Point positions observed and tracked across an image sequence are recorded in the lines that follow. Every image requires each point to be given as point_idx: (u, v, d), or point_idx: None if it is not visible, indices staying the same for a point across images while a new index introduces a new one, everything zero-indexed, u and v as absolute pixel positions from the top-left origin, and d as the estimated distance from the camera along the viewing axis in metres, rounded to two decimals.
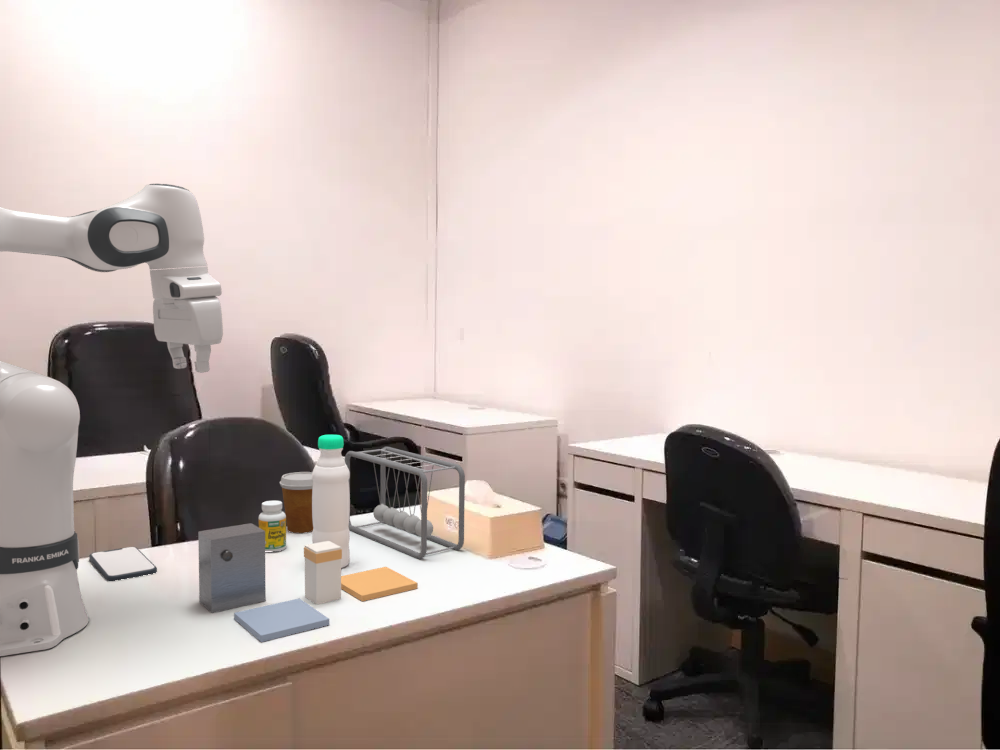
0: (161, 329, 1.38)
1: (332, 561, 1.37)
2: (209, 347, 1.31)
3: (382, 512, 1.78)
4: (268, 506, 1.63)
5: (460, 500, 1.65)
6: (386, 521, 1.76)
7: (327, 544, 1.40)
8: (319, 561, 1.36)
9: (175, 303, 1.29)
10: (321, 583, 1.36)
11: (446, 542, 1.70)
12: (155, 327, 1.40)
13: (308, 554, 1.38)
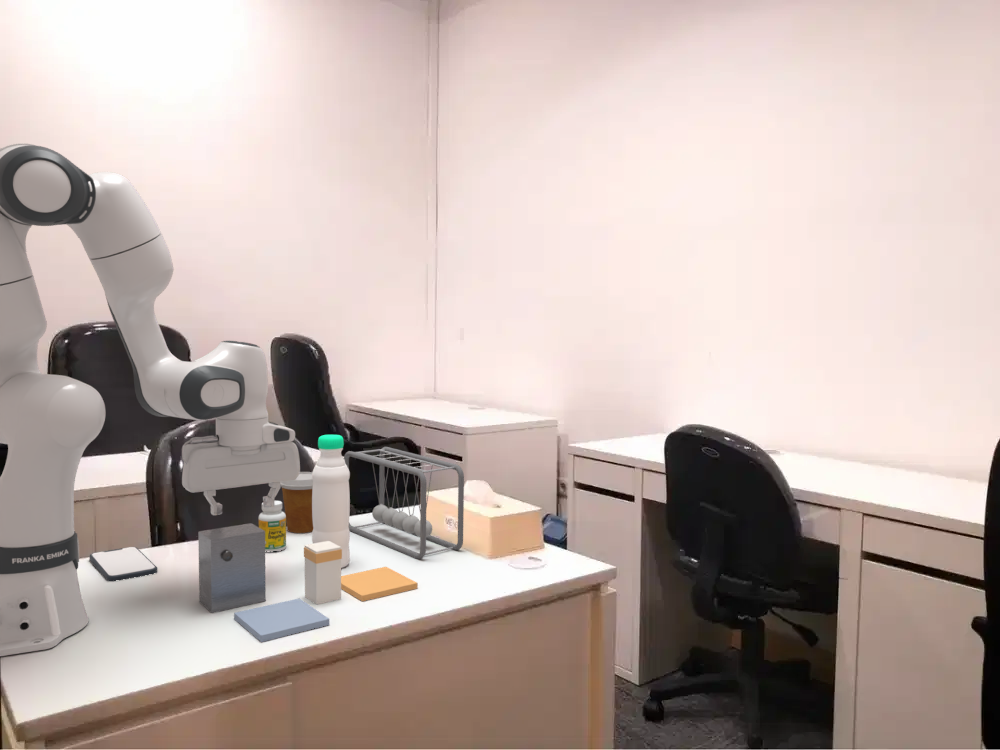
0: (210, 479, 1.39)
1: (332, 561, 1.37)
2: None
3: (381, 512, 1.78)
4: None
5: (459, 500, 1.65)
6: (385, 521, 1.75)
7: (327, 544, 1.40)
8: (319, 562, 1.36)
9: (272, 447, 1.44)
10: (321, 583, 1.36)
11: (445, 542, 1.70)
12: (196, 478, 1.38)
13: (308, 554, 1.38)
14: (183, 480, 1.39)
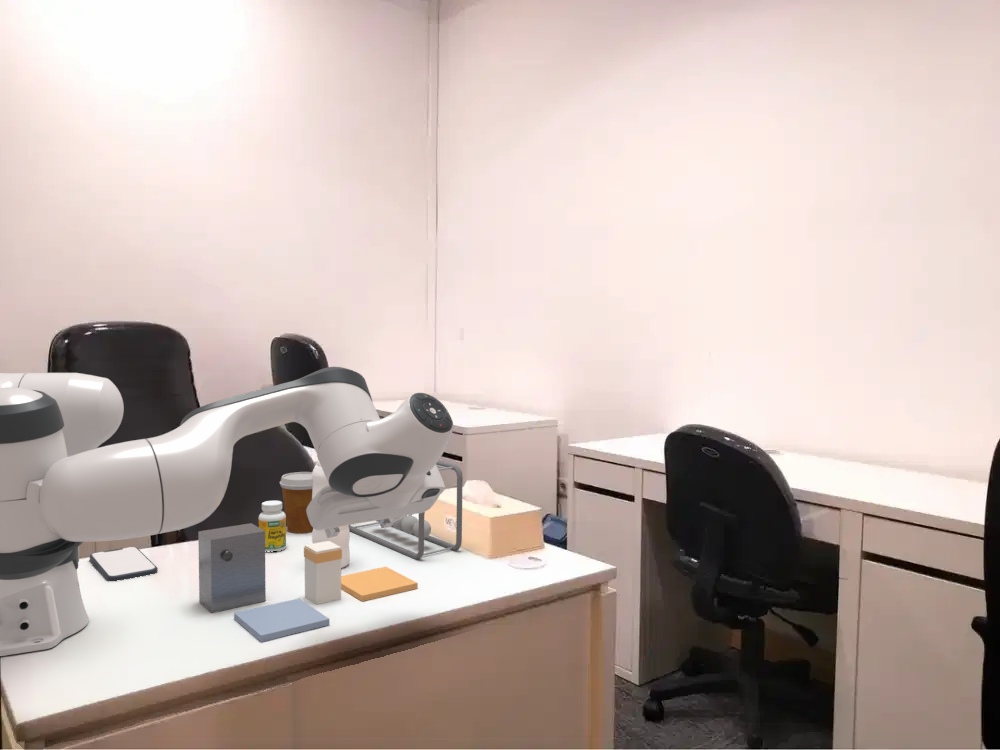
0: (338, 521, 1.19)
1: (332, 561, 1.37)
2: None
3: None
4: (268, 506, 1.63)
5: (458, 500, 1.65)
6: None
7: (327, 544, 1.40)
8: (319, 561, 1.36)
9: None
10: (321, 583, 1.36)
11: (444, 543, 1.69)
12: (324, 522, 1.18)
13: (308, 554, 1.38)
14: (309, 511, 1.18)
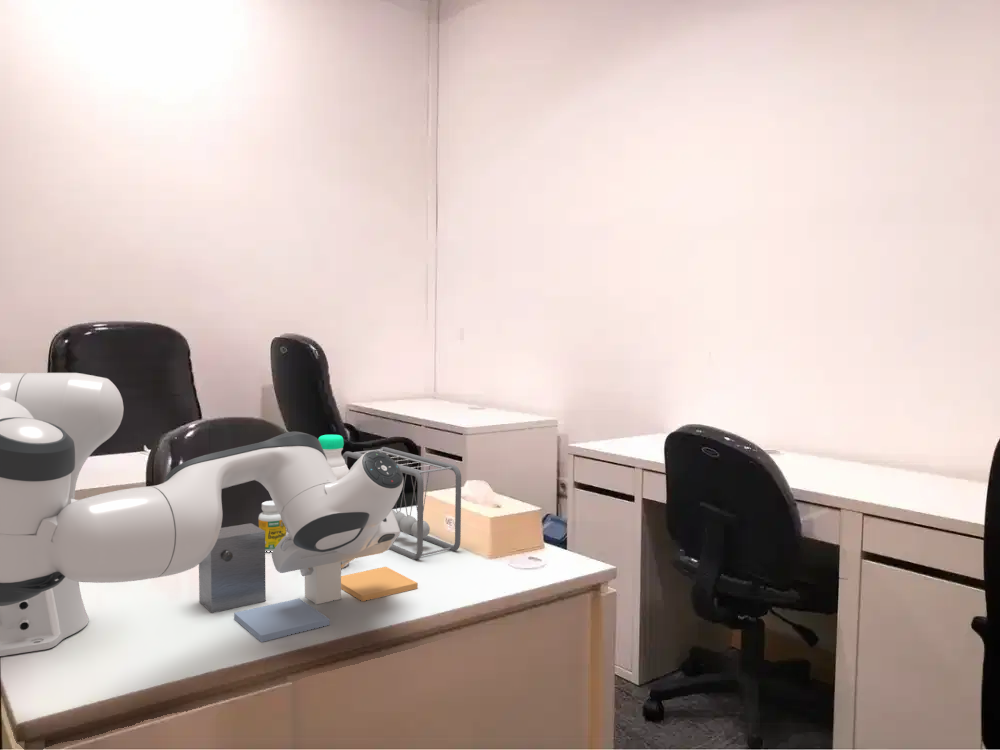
0: (301, 564, 1.31)
1: None
2: None
3: None
4: (268, 506, 1.63)
5: (456, 501, 1.65)
6: None
7: None
8: None
9: None
10: (321, 583, 1.36)
11: (443, 543, 1.69)
12: (288, 566, 1.29)
13: None
14: (274, 556, 1.30)
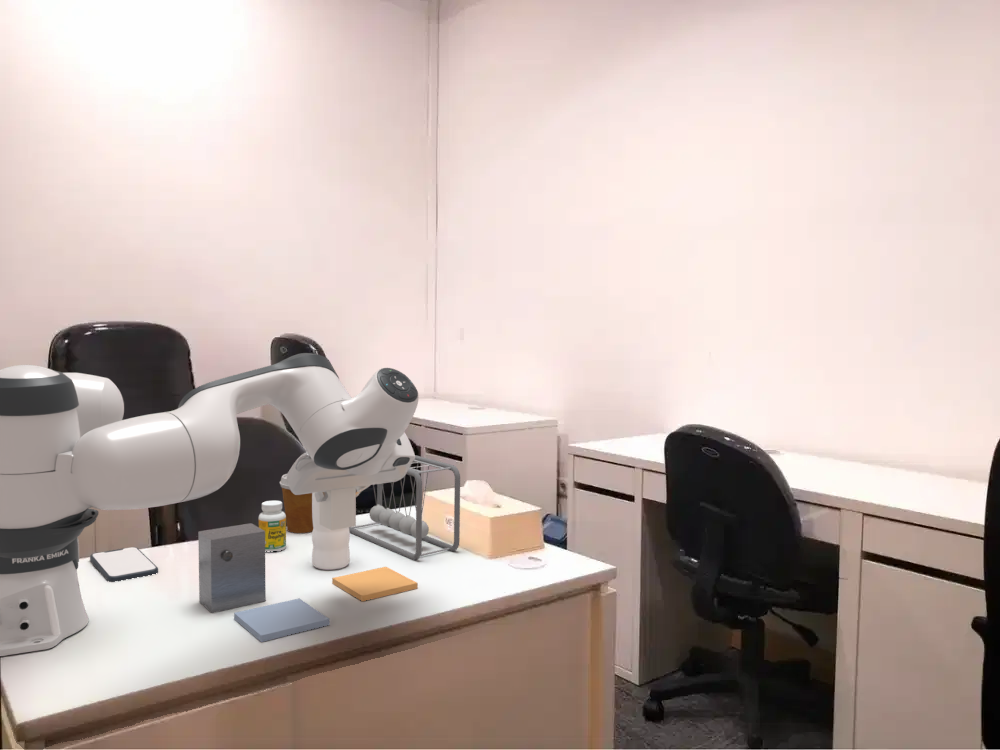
0: (316, 486, 1.30)
1: None
2: None
3: (378, 513, 1.77)
4: (268, 506, 1.63)
5: (455, 501, 1.64)
6: (382, 522, 1.75)
7: None
8: None
9: None
10: (336, 509, 1.36)
11: (442, 543, 1.69)
12: (303, 487, 1.28)
13: None
14: (289, 477, 1.29)
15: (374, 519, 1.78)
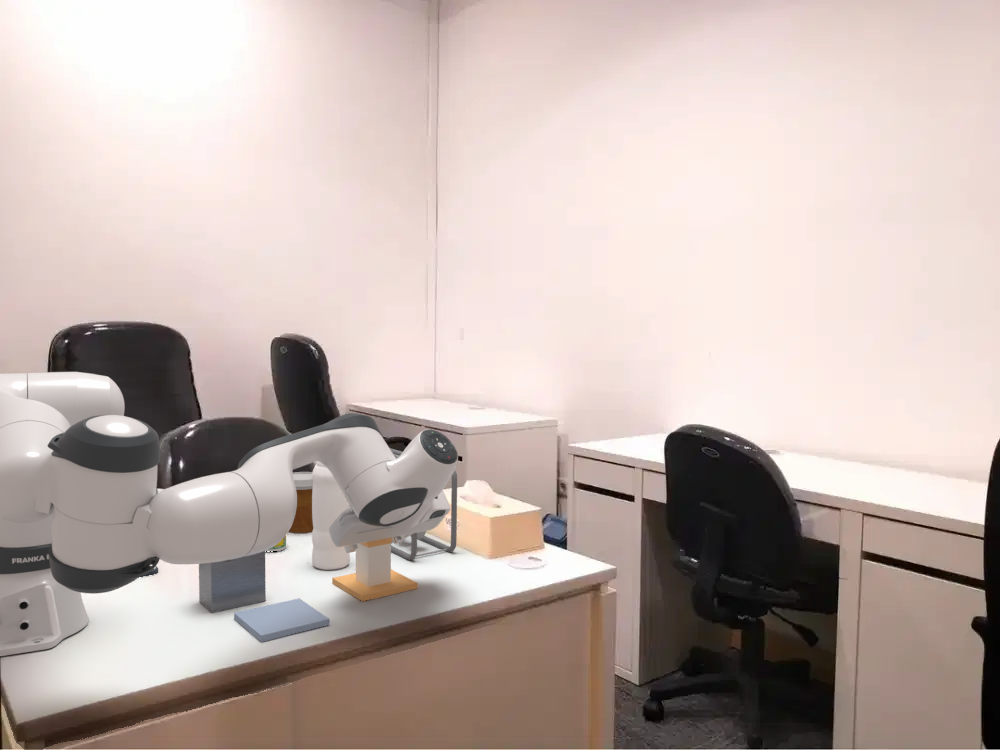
0: (357, 539, 1.36)
1: (383, 545, 1.43)
2: None
3: None
4: None
5: (452, 502, 1.64)
6: None
7: None
8: (371, 545, 1.42)
9: None
10: (372, 566, 1.42)
11: (439, 544, 1.68)
12: (345, 540, 1.35)
13: None
14: (332, 531, 1.36)
15: None
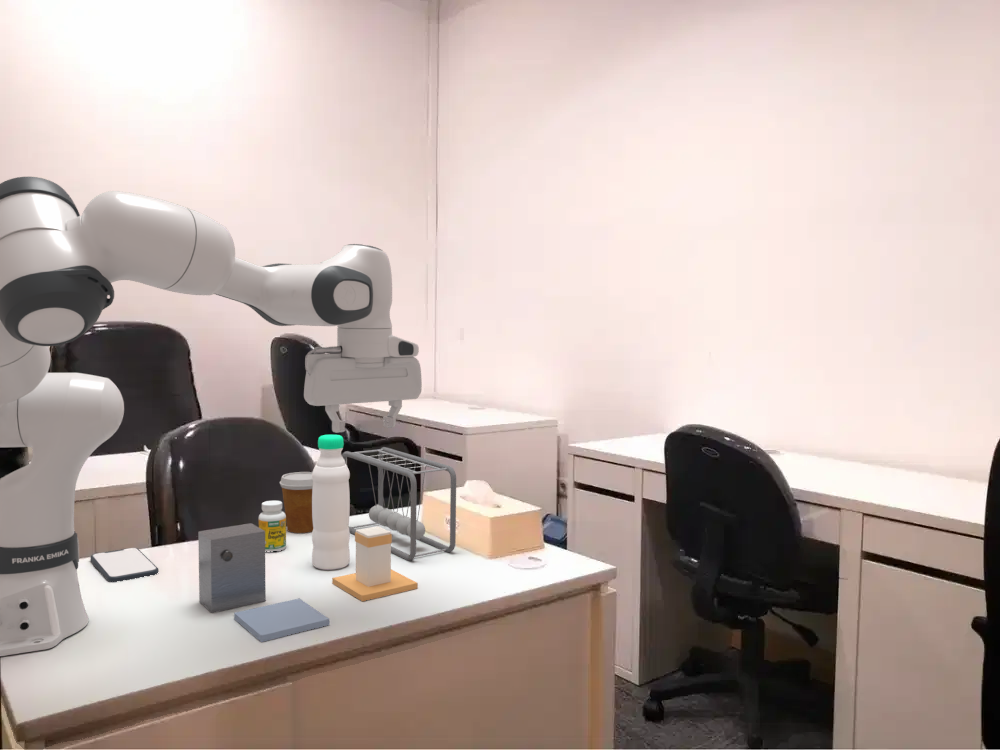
0: (334, 392, 1.29)
1: (383, 545, 1.43)
2: None
3: (377, 513, 1.77)
4: (268, 506, 1.63)
5: (451, 502, 1.64)
6: (380, 522, 1.75)
7: (377, 529, 1.45)
8: (371, 545, 1.42)
9: (396, 361, 1.35)
10: (372, 566, 1.42)
11: (438, 544, 1.68)
12: (321, 390, 1.28)
13: (359, 538, 1.44)
14: (306, 393, 1.29)
15: (373, 519, 1.78)
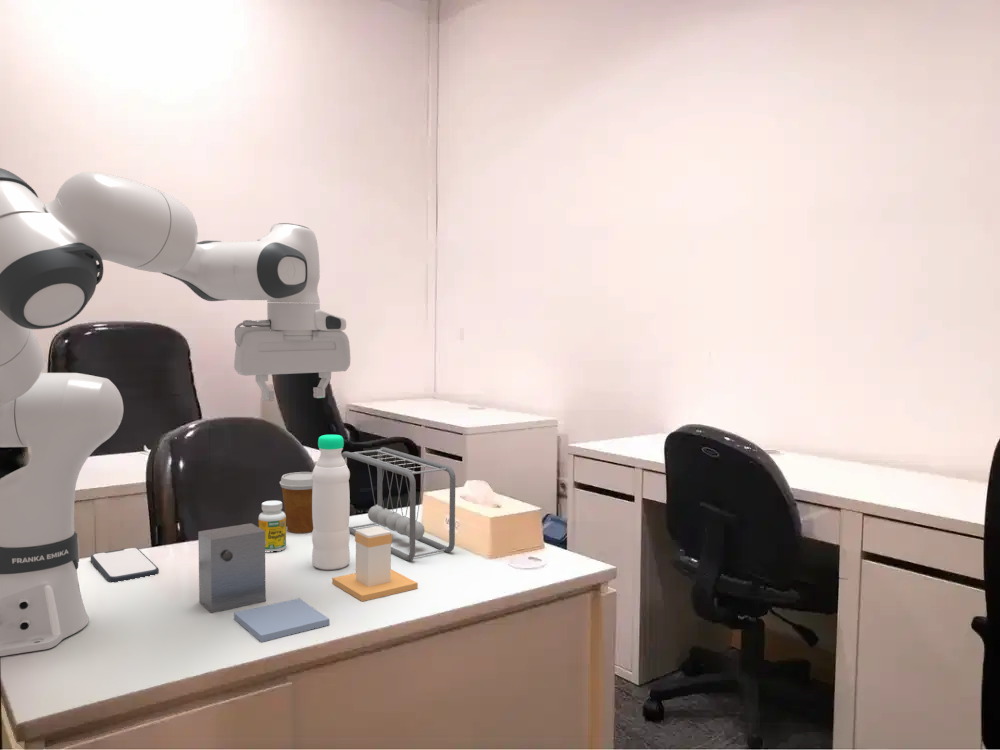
0: (263, 362, 1.37)
1: (383, 545, 1.43)
2: None
3: (376, 513, 1.77)
4: (268, 506, 1.63)
5: (450, 502, 1.64)
6: (379, 522, 1.75)
7: (377, 529, 1.45)
8: (371, 545, 1.42)
9: (323, 334, 1.42)
10: (372, 566, 1.42)
11: (438, 544, 1.68)
12: (249, 361, 1.36)
13: (359, 538, 1.44)
14: (236, 363, 1.37)
15: (372, 519, 1.78)
